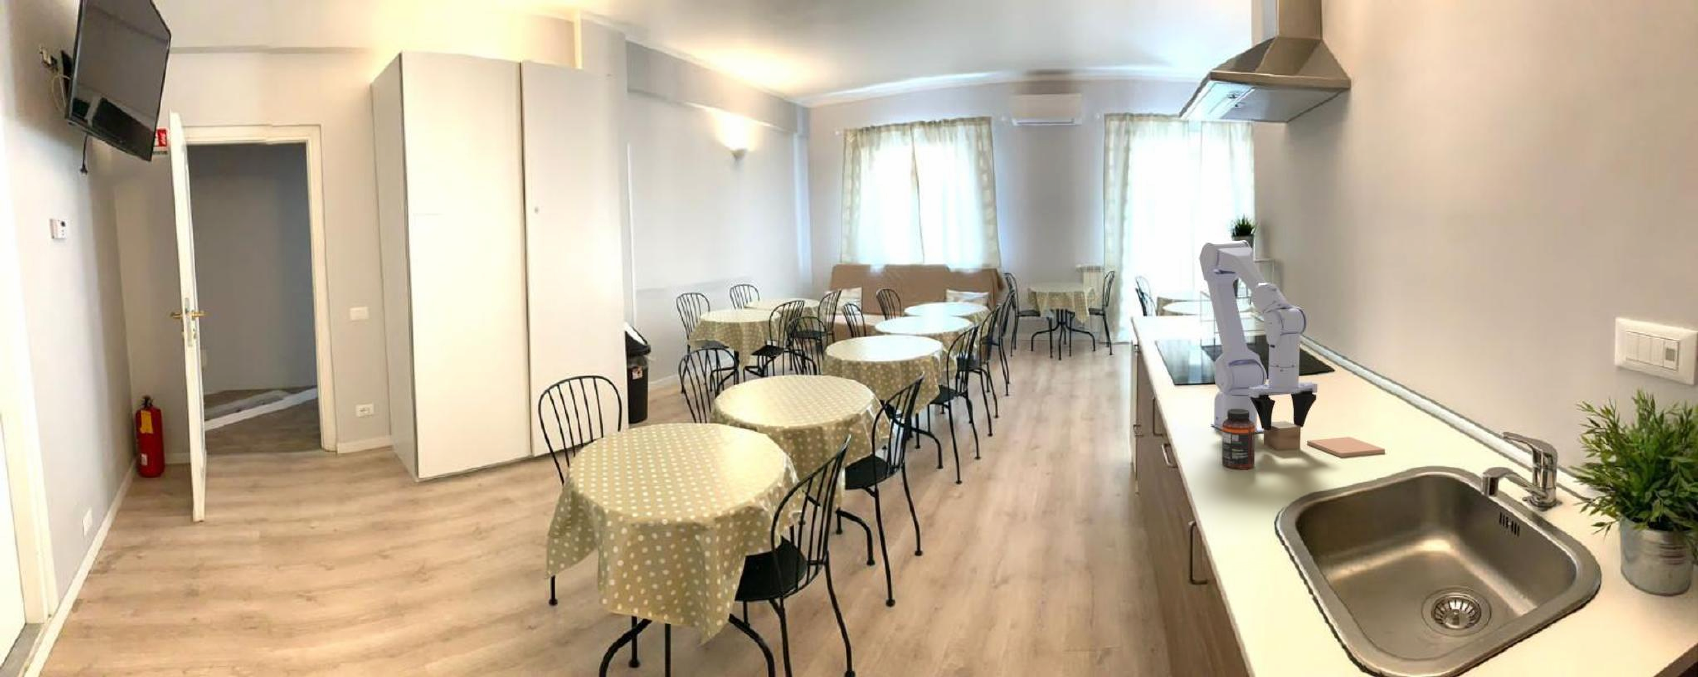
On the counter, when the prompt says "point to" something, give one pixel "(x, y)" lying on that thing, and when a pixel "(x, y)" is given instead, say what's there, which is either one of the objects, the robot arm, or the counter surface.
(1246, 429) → the supplement bottle
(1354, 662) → the counter surface
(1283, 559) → the counter surface
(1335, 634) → the counter surface
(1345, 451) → the terracotta tile
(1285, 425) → the walnut cube
